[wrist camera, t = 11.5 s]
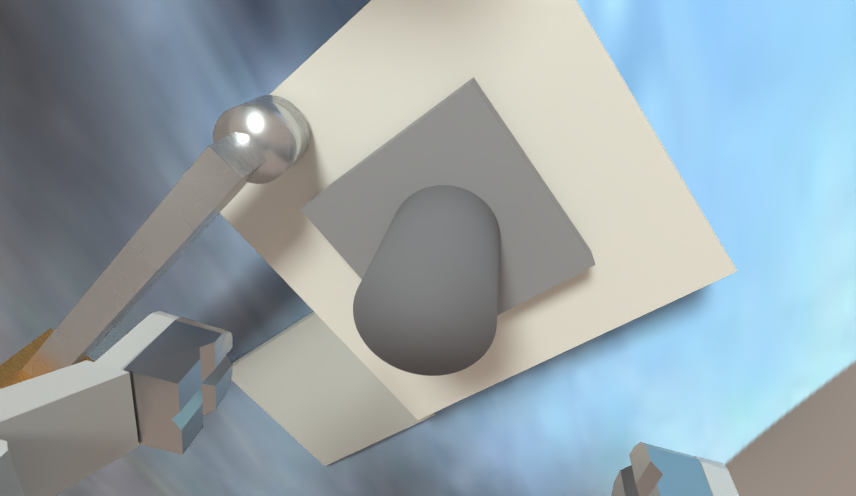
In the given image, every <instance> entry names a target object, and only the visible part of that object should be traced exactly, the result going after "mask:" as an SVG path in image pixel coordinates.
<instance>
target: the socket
mask: <svg viewBox="0 0 856 496" xmlns="http://www.w3.org/2000/svg"><path fill="white" fill-rule="evenodd" d="M473 77H474V78H475V80H476V81H477V83H478V84H479V86H480V87H481V89H482V90H483V92H484V93H485V95H486V96H487V98H488V99H489V101H490V102H491V104H492V105H493V106H494V108H495V109H496V111H497V112H498V114H499V115H500V117H501V118H502V120H503V121H504V123H505V124H506V126H507V127H508V129H509V130H510V132H511V133H512V134H513V136H514V137H515V139H516V140H517V142H518V143H519V145H520V146H521V148H522V149H523V151H524V152H525V154H526V155H527V157H528V158H529V160H530V161H531V163H532V164H533V165H534V167H535V168H536V170H537V171H538V173H539V174H540V176H541V177H542V179H543V180H544V182H545V183H546V185H547V186H548V188H549V189H550V191H551V192H552V193H553V195H554V196H555V198H556V199H557V201H558V202H559V204H560V205H561V207H562V208H563V210H564V211H565V213H566V214H567V216H568V217H569V219H570V220H571V222H572V223H573V224H574V226H575V227H576V229H577V230H578V232H579V233H580V235H581V236H582V238H583V239H584V241H585V242H586V244H587V245H588V247H589V248H590V250H591V252H592V255H593V258H594V261H595V264H596V265H594V266H592V267H590V268H588V269H586V270H585V271H583V272H581V273H579V274H577V275H575V276H573V277H571V278H569V279H567V280H565V281H563V282H561V283H559V284H557V285H556V286H554V287H552V288H550V289H548V290H546V291H544V292H542V293H540V294H538V295H536V296H534V297H532V298H530V299H528V300H526V301H525V302H523V303H521V304H519V305H517V306H515V307H513V308H511V309H509V310H507V311H505V312H503V313H501V314H499V315H497V328H496V334H495V337H494V340H493V342H492V344H491V346H490V348H489V349H488V351H487V352H486V353H485V355H484V356H483V357H482V358H481V359H480V360H478V361H477V362H476V363H474V364H473V365H471V366H469V367H468V368H466V369H464V370H461V371H459V372H455V373H452V374H447V375H440V376H425V375H418V374H413V373H409V372H405V371H403V370H400V369H397V368H395V367H393V366H391V365H389V364H388V363H386V362H384V361H383V360H381V359H380V358H379V357H378V356H376V355H375V354H374V353H373V352H372V351H371V350H370V349H369V348H368V347H367V345H366V344H365V343H364V341H363V340H362V338H361V337H360V335H359V333H358V330H357V328H356V325H355V322H354V316H353V302H354V297H355V294H356V291H357V289H358V287H359V285H360V283H361V281H362V279H361V278H360V277H359V276H358V275H357V274H356V272H355V271H354V270H353V269H352V268H351V267H350V266H349V264H348V263H347V262H346V261H345V260H344V259H343V258H342V256H341V255H340V254H339V253H338V252H337V251H336V250H335V248H334V247H333V246H332V245H331V244H330V243H329V242H328V240H327V239H326V238H325V237H324V236H323V235H322V234H321V232H320V231H319V230H318V229H317V228H316V227H315V226H314V224H313V223H312V222H311V221H310V220H309V219H308V218H307V216H306V215H305V214H304V213H303V212H302V211H301V209H302V208H303V207H304V206H305V205H306V204H307V202H308V201H309V200H310V199H311V198H313V197H314V196H315V195H317V194H318V193H319V192H321V191H322V190H323V189H325V188H326V187H327V186H329V185H330V184H331V183H333V182H334V181H335V180H337V179H338V178H339V177H341V176H342V175H343V174H345V173H346V172H347V171H349V170H350V169H351V168H353V167H354V166H355V165H357V164H358V163H359V162H361V161H362V160H363V159H365V158H366V157H367V156H369V155H370V154H372V153H373V152H374V151H376V150H377V149H378V148H380V147H381V146H382V145H384V144H385V143H386V142H388V141H389V140H390V139H392V138H393V137H394V136H396V135H397V134H398V133H400V132H401V131H402V130H404V129H405V128H406V127H408V126H409V125H410V124H412V123H413V122H414V121H416V120H417V119H418V118H420V117H421V116H422V115H424V114H425V113H426V112H428V111H429V110H430V109H432V108H433V107H434V106H436V105H437V104H438V103H440V102H441V101H442V100H444V99H445V98H446V97H448V96H449V95H450V94H452V93H453V92H454V91H456V90H457V89H458V88H460V87H461V86H462V85H464V84H465V83H466V82H468V81H469V80H470V79H472V78H473ZM270 95H276V96H279V97H282V98H285V99H287V100H288V101H290V102H291V103H293V104H294V105H295V106H296V107H297V108H298V109H299V110H300V111H301V113H302V114H303V116H304V117H305V119H306V122H307V124H308V127H309V133H310V141H309V146H308V149H307V151H306V153H305V155H304V156H303V157H302V158H301V159H300V160H299V161H298V162H296V163H295V164H294V165H293V166H291V167H290V168H289V169H288V170H287V171H285V172H284V173H283V174H282V175H280V176H279V177H278V178H277V179H275V180H273V181H271V182H268V183H264V184H254V183H249V182H248V183H247V184H246V185H245V186H244V187H243V188H242V189H241V191H240V192H239V193H238V194H237V195H236V196H235V197H234V198H233V199H232V200H231V201H230V202H229V204H228V205H227V206H226V207H225V208H224V209H223V210H222V211H221V212H220V213H221V214H222V216H223V217H224V218H225V219H226V220H227V221H228V222H229V223H230V224H231V225H232V226H233V227H234V228H235V229H236V230H237V231H238V232H239V233H240V234H241V235H242V236H243V238H244V239H245V240H246V241H247V242H248V243H249V244H250V245H251V246H252V247H253V248H254V249H255V250H256V251H257V252H258V253H259V254H260V255H261V256H262V257H263V258H264V260H265V261H266V262H267V263H268V264H269V265H270V266H271V267H272V268H273V269H274V270H275V271H276V272H277V273H278V274H279V275H280V276H281V277H282V278H283V279H284V281H285V282H286V283H287V284H288V285H289V286H290V287H291V288H292V289H293V290H294V291H295V292H296V293H297V294H298V295H299V296H300V297H301V298H302V299H303V300H304V301H305V303H306V304H307V305H308V306H309V307H310V308H311V309H312V310H313V311H314V312H315V313H316V314H317V315H318V316H319V317H320V318H321V319H322V320H323V321H324V322H325V323H326V325H327V326H328V327H329V328H330V329H331V330H332V331H333V332H334V333H335V334H336V335H337V336H338V337H339V338H340V339H341V340H342V341H343V342H344V343H345V344H346V345H347V347H348V348H349V349H350V350H351V351H352V352H353V353H354V354H355V355H356V356H357V357H358V358H359V359H360V360H361V361H362V362H363V363H364V364H365V365H366V366H367V367H368V369H369V370H370V371H371V372H372V373H373V374H374V375H375V376H376V377H377V378H378V379H379V380H380V381H381V382H382V383H383V384H384V385H385V386H386V387H387V388H388V390H389V391H390V392H391V393H392V394H393V395H394V396H395V397H396V398H397V399H398V400H399V401H400V402H401V403H402V404H403V405H404V406H405V407H406V408H407V409H408V410H409V412H410V413H411V414H412V415H413V416H414V417H415V418H416V419H417V420H419V419H421V418H424V417H426V416H428V415H430V414H432V413H434V412H436V411H439V410H441V409H443V408H445V407H447V406H449V405H451V404H454V403H456V402H458V401H460V400H462V399H464V398H466V397H469V396H471V395H473V394H475V393H477V392H479V391H482V390H484V389H486V388H488V387H490V386H492V385H494V384H497V383H499V382H501V381H503V380H505V379H507V378H509V377H512V376H514V375H516V374H518V373H520V372H522V371H524V370H527V369H529V368H531V367H533V366H535V365H537V364H540V363H542V362H544V361H546V360H548V359H550V358H552V357H555V356H557V355H559V354H561V353H563V352H565V351H567V350H570V349H572V348H574V347H576V346H578V345H580V344H582V343H585V342H587V341H589V340H591V339H593V338H595V337H597V336H600V335H602V334H604V333H606V332H608V331H610V330H613V329H615V328H617V327H619V326H621V325H623V324H625V323H628V322H630V321H632V320H634V319H636V318H638V317H640V316H643V315H645V314H647V313H649V312H651V311H653V310H655V309H658V308H660V307H662V306H664V305H666V304H668V303H671V302H673V301H675V300H677V299H679V298H681V297H683V296H686V295H688V294H690V293H692V292H694V291H696V290H698V289H701V288H703V287H705V286H707V285H709V284H711V283H713V282H716V281H718V280H720V279H722V278H724V277H726V276H728V275H731V274H733V273H735V272H737V270H736V268H735V266H734V265H733V263H732V261H731V260H730V258H729V256H728V255H727V253H726V251H725V250H724V248H723V246H722V245H721V243H720V241H719V240H718V238H717V236H716V234H715V233H714V231H713V229H712V228H711V226H710V224H709V223H708V221H707V219H706V218H705V216H704V214H703V213H702V211H701V209H700V208H699V206H698V204H697V203H696V201H695V199H694V197H693V196H692V194H691V192H690V191H689V189H688V187H687V186H686V184H685V182H684V181H683V179H682V177H681V176H680V174H679V172H678V171H677V169H676V167H675V166H674V164H673V162H672V160H671V159H670V157H669V155H668V154H667V152H666V150H665V149H664V147H663V145H662V144H661V142H660V140H659V139H658V137H657V135H656V134H655V132H654V130H653V129H652V127H651V125H650V124H649V122H648V120H647V118H646V117H645V115H644V113H643V112H642V110H641V108H640V107H639V105H638V103H637V102H636V100H635V98H634V97H633V95H632V93H631V92H630V90H629V88H628V87H627V85H626V83H625V81H624V80H623V78H622V76H621V75H620V73H619V71H618V70H617V68H616V66H615V65H614V63H613V61H612V60H611V58H610V56H609V55H608V53H607V51H606V50H605V48H604V46H603V44H602V43H601V41H600V39H599V38H598V36H597V34H596V33H595V31H594V29H593V28H592V26H591V24H590V23H589V21H588V19H587V18H586V16H585V14H584V13H583V11H582V9H581V7H580V6H579V4H578V2H577V1H576V0H371V1H370V2H369V3H368V4H366V5H365V6H364V7H363V8H362V9H361V10H360V11H359V12H358V13H357V14H356V15H355V16H354V17H352V18H351V19H350V20H349V21H348V22H347V23H346V24H345V25H344V26H343V27H342V28H341V29H340V30H338V31H337V32H336V33H335V34H334V35H333V36H332V37H331V38H330V39H329V40H328V41H327V42H326V43H324V44H323V45H322V46H321V47H320V48H319V49H318V50H317V51H316V52H315V53H314V54H313V55H312V56H311V57H309V58H308V59H307V60H306V61H305V62H304V63H303V64H302V65H301V66H300V67H299V68H298V69H297V70H295V71H294V72H293V73H292V74H291V75H290V76H289V77H288V78H287V79H286V80H285V81H284V82H283V83H281V84H280V85H279V86H278V87H277V88H276V89H275V90H274V91H273V92H272V93H271V94H270ZM183 175H184V174H183Z"/></svg>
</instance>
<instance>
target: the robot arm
mask: <svg viewBox="0 0 856 496" xmlns="http://www.w3.org/2000/svg"><path fill="white" fill-rule="evenodd" d="M232 347H233V343H232V334H231V333H230V332H229V331H227V330H223V329H220V328H217V327H213V326H210V325H207V324H203V323H200V322H196V321H193V320H190V319H186V318H183V317H182V318H181V317H178V316H174V315H171V314H168V313H164V312H161V311H157V312H154V313H151V314H149V315H148V316H147V317H146V318H145V319H144V320H142V321H141V322H140V323H139V324H138V325H137V326H136V327H134V328H133V329H132V330H131V331H130V332H129V333H127V334H126V335H125V336H124V337H123V338H122V339H121V340H119V341H118V342H117V343H116V344H115V345H114V346H112V347H111V348H110V349H109V350H108V351H107V352H106V353H104V354H103V355H102V356H101V357H100V358H99V359H97V360H96V361H95V362H92V361H88V360H86V361H83V362H80V363H77V364H74V365H71V366H68V367H65V368H62V369H59V370H56V371H53V372H50V373H47V374H44V375H41V376H38V377H35V378H32V379H29V380H26V381H23V382H20V383H17V384H14V385H11V386H8V387H5V388H1V389H0V496H54V495H56V494H58V493H60V492H61V491H63V490H65V489H66V488H68V487H70V486H72V485H73V484H75V483H77V482H78V481H80V480H82V479H84V478H85V477H87V476H89V475H91V474H92V473H94V472H96V471H97V470H99V469H101V468H103V467H104V466H106V465H108V464H109V463H111V462H113V461H115V460H116V459H118V458H120V457H122V456H123V455H125V454H127V453H128V452H130V451H132V450H134V449H135V448H137V447H139V444H143V445H146V446H150V447H154V448H158V449H162V450H166V451H170V452H174V453H178V454H182V455H183V454H184V452H185V451H186V450H187V448H188V447H189V446H190V444H191V443H192V442H193V440H194V439H195V438H196V436H197V435H198V433H199V432H200V431H201V429H202V428H203V415H206V414H208V413H210V412H212V411H214V410H216V409H217V407H218V406H219V405H220V403H221V402H222V400H223V399H224V397H225V395H226V392H227V390H228V388H229V386H230V382H231V378H232V370H233V364H232V362H231V361H230V359H229V358H228V356H227V353H228V352H229V351H230V350H231V348H232ZM629 456H630V460H631V466H629V467H627V468H624V469H622V470H620V472H619V474H618V476H617V478H616V480H615V482H614V486H613V491H612V496H739V495H738V492H737V490H736V487H735V485H734V483H733V481H732V478H731V476H730V474H729V471H728V469H727V468H726V467H725V466H724V465H723V464H722V463H719V462H716V461H712V460H708V459H704V458H700V457H696V456H691V455H688V454H684V453H680V452H676V451H672V450H668V449H665V448H661V447H657V446H653V445H649V444H646V443H642V442H640V443H639V444H637V445H636V446H635V447H634V448H633V450H632V451H631V453H630V455H629Z"/></svg>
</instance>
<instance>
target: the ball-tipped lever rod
mask: <svg viewBox="0 0 856 496" xmlns="http://www.w3.org/2000/svg"><path fill="white" fill-rule="evenodd" d="M213 141H214V143H213V144H211V145H209V146H208V147H207V148H206V149H205V150H204V152H203V153H202V154H201V155H200V156H199V158H198V159H197V160H196V161H195V162H194V164H193V165H192V166H191V167H190V168H189V170H188V171H187V172H186V173H185V174H184V176H183V177H182V178H181V179H180V180H179V182H178V183H177V184H176V185H175V186H174V188H173V189H172V190H171V191H170V192H169V194H168V195H167V196H166V197H165V198H164V200H163V201H162V202H161V203H160V204H159V206H158V207H157V208H156V209H155V210H154V212H153V213H152V214H151V215H150V216H149V218H148V219H147V220H146V221H145V222H144V224H143V225H142V226H141V227H140V228H139V230H138V231H137V232H136V233H135V234H134V236H133V237H132V238H131V239H130V240H129V242H128V243H127V244H126V245H125V246H124V248H123V249H122V250H121V251H120V252H119V254H118V255H117V256H116V257H115V258H114V260H113V261H112V262H111V263H110V264H109V266H108V267H107V268H106V269H105V270H104V272H103V273H102V274H101V275H100V276H99V278H98V279H97V280H96V281H95V282H94V284H93V285H92V286H91V287H90V288H89V290H88V291H87V292H86V293H85V294H84V296H83V297H82V298H81V299H80V300H79V302H78V303H77V304H76V305H75V306H74V308H73V309H72V310H71V311H70V312H69V314H68V315H67V316H66V317H65V318H64V320H63V321H62V322H61V323H60V324H59V326H58V327H57V328H56V329H55V330H54V331H53V330H52V329H51V328H50V329H49V330H48V331H46V332H45V333H44V334H42V335H41V336H40V337H38V338H37V339H35V340H34V341H33V342H31V343H30V344H29V345H27V346H26V347H25V348H23V349H22V350H21V351H19V352H18V353H16V354H15V355H14V356H12V357H11V358H10V359H8V360H7V361H6V362H4V363H3V364H2V365H0V389H1V388H5V387H8V386H11V385H14V384H17V383H20V382H23V381H26V380H29V379H32V378H35V377H38V376H41V375H44V374H47V373H50V372H53V371H56V370H59V369H62V368H65V367H68V366H71V365H74V364H77V363H80V362H83V361H86V360H88V361H92V362H94V361H93V360H92V359H90V358H89V357H88V355H89V353H90V352H91V351H92V350H93V349H94V348H95V347H96V346H97V345H98V344H99V343H100V342H101V341H102V339H103V338H104V337H105V336H106V335H107V334H108V333H109V332H110V331H111V330H112V329H113V328H114V327H115V325H116V324H117V323H118V322H119V321H120V320H121V319H122V318H123V317H124V316H125V315H126V314H127V312H128V311H129V310H130V309H131V308H132V307H133V306H134V305H135V304H136V303H137V302H138V301H139V300H140V298H141V297H142V296H143V295H144V294H145V293H146V292H147V291H148V290H149V289H150V288H151V287H152V286H153V284H154V283H155V282H156V281H157V280H158V279H159V278H160V277H161V276H162V275H163V274H164V273H165V271H166V270H167V269H168V268H169V267H170V266H171V265H172V264H173V263H174V262H175V261H176V260H177V259H178V257H179V256H180V255H181V254H182V253H183V252H184V251H185V250H186V249H187V248H188V247H189V246H190V245H191V243H192V242H193V241H194V240H195V239H196V238H197V237H198V236H199V235H200V234H201V233H202V232H203V230H204V229H205V228H206V227H207V226H208V225H209V224H210V223H211V222H212V221H213V220H214V219H215V218H216V216H217V215H218V214H219V213H220V212H221V211H222V210H223V209H224V208H225V207H226V206H227V205H228V204H229V202H230V201H231V200H232V199H233V198H234V197H235V196H236V195H237V194H238V193H239V192H240V191H241V189H242V188H243V187H244V186H245V185H246V184H247V183H248V182H249V183H254V184H264V183H268V182H271V181H273V180H275V179H277V178H278V177H279V176H280V175H282V174H283V173H284V172H285V171H287V170H288V169H289V168H290V167H291V166H293V165H294V164H295V163H296V162H298V161H299V160H300V159H301V158H302V157H303V156H304V155H305V153H306V151H307V149H308V146H309V141H310V133H309V127H308V124H307V122H306V119H305V117H304V116H303V114H302V113H301V111H300V110H299V109H298V108H297V107H296V106H295V105H294V104H293V103H291V102H290V101H288V100H287V99H285V98H282V97H279V96H276V95H263V96H260V97H257V98H255V99H252V100H250V101H248V102H245V103H243V104H241V105H238V106H236V107H234V108H231V109H229V110H227V111H226V112H224V113H223V114H222V115H221V116H220V117H219V119H218V120H217V122H216V124H215V127H214V132H213Z"/></svg>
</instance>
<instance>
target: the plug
mask: <svg viewBox="0 0 856 496" xmlns="http://www.w3.org/2000/svg"><path fill="white" fill-rule="evenodd" d="M301 211H302V212H303V213H304V214H305V215H306V216H307V218H308V219H309V220H310V221H311V222H312V223H313V224H314V226H315V227H316V228H317V229H318V230H319V231H320V232H321V234H322V235H323V236H324V237H325V238H326V239H327V240H328V242H329V243H330V244H331V245H332V246H333V247H334V248H335V250H336V251H337V252H338V253H339V254H340V255H341V256H342V258H343V259H344V260H345V261H346V262H347V263H348V264H349V266H350V267H351V268H352V269H353V270H354V271H355V272H356V274H357V275H358V276H359V277H360V278H361V279H362V281H361V283H360V285H359V287H358V289H357V291H356V294H355V297H354V302H353V316H354V322H355V325H356V328H357V330H358V333H359V335H360V337H361V338H362V340H363V341H364V343H365V344H366V345H367V347H368V348H369V349H370V350H371V351H372V352H373V353H374V354H375V355H376V356H378V357H379V358H380V359H381V360H383V361H384V362H386V363H388V364H389V365H391V366H393V367H395V368H397V369H400V370H403V371H405V372H409V373H413V374H418V375H425V376H440V375H447V374H452V373H455V372H459V371H461V370H464V369H466V368H468V367H469V366H471V365H473V364H474V363H476V362H477V361H478V360H480V359H481V358H482V357H483V356H484V355H485V353H486V352H487V351H488V349H489V348H490V346H491V344H492V342H493V340H494V337H495V334H496V328H497V315H499V314H501V313H503V312H505V311H507V310H509V309H511V308H513V307H515V306H517V305H519V304H521V303H523V302H525V301H526V300H528V299H530V298H532V297H534V296H536V295H538V294H540V293H542V292H544V291H546V290H548V289H550V288H552V287H554V286H556V285H557V284H559V283H561V282H563V281H565V280H567V279H569V278H571V277H573V276H575V275H577V274H579V273H581V272H583V271H585V270H586V269H588V268H590V267H592V266H594V265H596V264H595V261H594V258H593V255H592V252H591V250H590V248H589V247H588V245H587V244H586V242H585V241H584V239H583V238H582V236H581V235H580V233H579V232H578V230H577V229H576V227H575V226H574V224H573V223H572V222H571V220H570V219H569V217H568V216H567V214H566V213H565V211H564V210H563V208H562V207H561V205H560V204H559V202H558V201H557V199H556V198H555V196H554V195H553V193H552V192H551V191H550V189H549V188H548V186H547V185H546V183H545V182H544V180H543V179H542V177H541V176H540V174H539V173H538V171H537V170H536V168H535V167H534V165H533V164H532V163H531V161H530V160H529V158H528V157H527V155H526V154H525V152H524V151H523V149H522V148H521V146H520V145H519V143H518V142H517V140H516V139H515V137H514V136H513V134H512V133H511V132H510V130H509V129H508V127H507V126H506V124H505V123H504V121H503V120H502V118H501V117H500V115H499V114H498V112H497V111H496V109H495V108H494V106H493V105H492V104H491V102H490V101H489V99H488V98H487V96H486V95H485V93H484V92H483V90H482V89H481V87H480V86H479V84H478V83H477V81H476V80H475V78H474V77H473V78H472V79H470V80H469V81H468V82H466V83H465V84H464V85H462V86H461V87H460V88H458V89H457V90H456V91H454V92H453V93H452V94H450V95H449V96H448V97H446V98H445V99H444V100H442V101H441V102H440V103H438V104H437V105H436V106H434V107H433V108H432V109H430V110H429V111H428V112H426V113H425V114H424V115H422V116H421V117H420V118H418V119H417V120H416V121H414V122H413V123H412V124H410V125H409V126H408V127H406V128H405V129H404V130H402V131H401V132H400V133H398V134H397V135H396V136H394V137H393V138H392V139H390V140H389V141H388V142H386V143H385V144H384V145H382V146H381V147H380V148H378V149H377V150H376V151H374V152H373V153H372V154H370V155H369V156H367V157H366V158H365V159H363V160H362V161H361V162H359V163H358V164H357V165H355V166H354V167H353V168H351V169H350V170H349V171H347V172H346V173H345V174H343V175H342V176H341V177H339V178H338V179H337V180H335V181H334V182H333V183H331V184H330V185H329V186H327V187H326V188H325V189H323V190H322V191H321V192H319V193H318V194H317V195H315V196H314V197H313V198H311V199H310V200H309V201H308V202H307V204H306V205H305V206H304V207H303V208H302V209H301Z"/></svg>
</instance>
